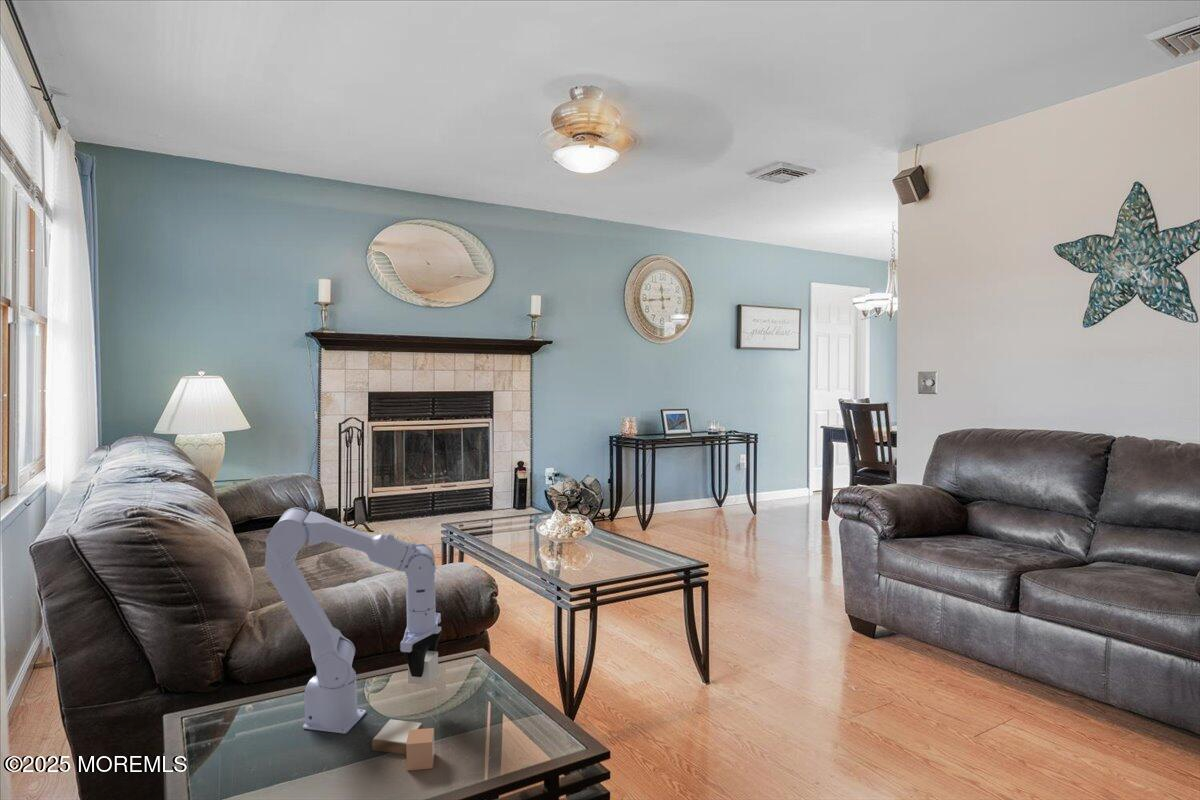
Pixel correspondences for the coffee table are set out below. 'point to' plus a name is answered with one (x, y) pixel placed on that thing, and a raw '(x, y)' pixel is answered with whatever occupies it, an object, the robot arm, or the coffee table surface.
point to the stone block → (426, 670)
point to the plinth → (394, 736)
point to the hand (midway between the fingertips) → (422, 669)
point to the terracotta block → (420, 749)
